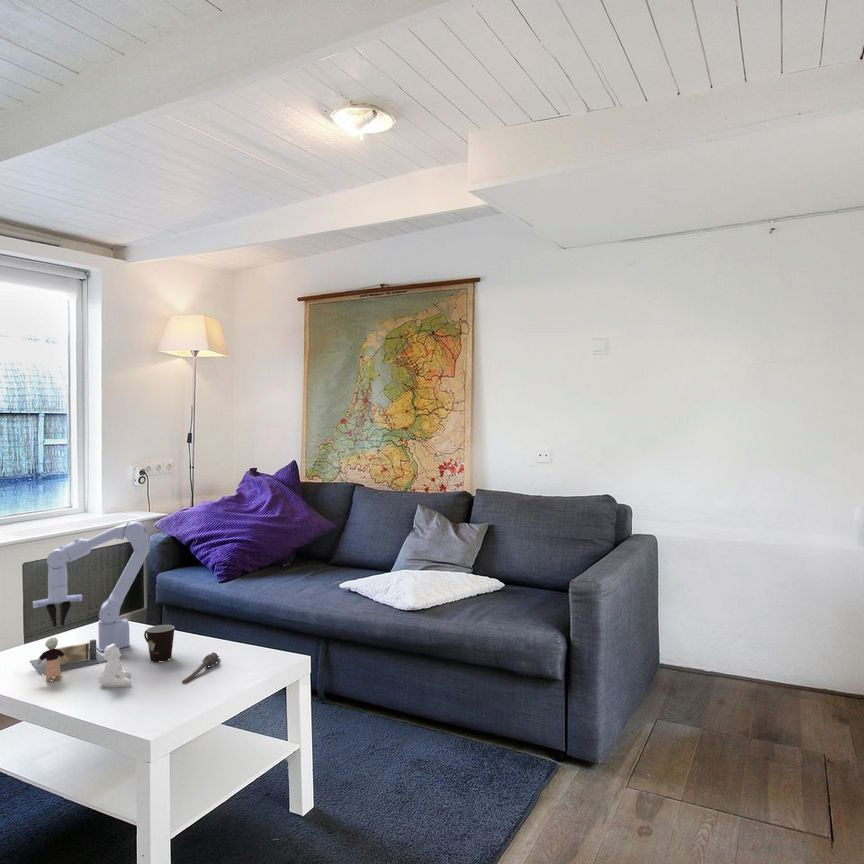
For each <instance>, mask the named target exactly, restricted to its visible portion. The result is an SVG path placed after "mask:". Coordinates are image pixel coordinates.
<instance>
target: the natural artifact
mask: <svg viewBox="0 0 864 864" xmlns="http://www.w3.org/2000/svg"><path fill="white" fill-rule="evenodd" d="M219 658H220V655H218V654H217V653H216V652H211V653H208V654H207V655H206V656H204V658H203V660H202V663H201V664H200V666H198V668H197V669H196V670H195V671H193V672H192V673H191V674H190V675H188V676H187V677H186V678H184V679H183V680H182V681H181V683H182V685H186V684H187V683H188V682H189V680H190V681H191V680H193V679H194V678H195V677H196V676H197V675H199V673H200V672H201V671H202V670H203V669H205V668H209V667H208V666H212V665H214V664H215V665H217V664H216V662H218V660H219ZM215 665H214V666H215ZM212 667H213V666H212ZM192 678H193V679H192Z"/></svg>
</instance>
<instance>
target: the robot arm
mask: <svg viewBox="0 0 864 864" xmlns="http://www.w3.org/2000/svg"><path fill="white" fill-rule="evenodd" d="M125 538H126V540H127V541H128V542H129V543H130V544H131V547H132V549H133V553H132V554H131V556H130V558H129V560H128V562H127V564H126V566H125V567H124V570H123V571H122V573H121V575H120V577H119V579H118V581H117V583H116V584H115V586H114V588H113V590H112V591H111V593H110V595H109V597H108V598H107V599H106V600H104V601H103V602H102V604H101V605H100V609H99V612H98V618H99V620H98V621H97V622H98V624H97V625H98V626H97V627H98V644H96V650H98V651H99V652H103V653H104V650H105V648H106V647H107V646H110V644H115V646H116V647H117V648H119V649H122V648H127V646H128V647H131V644H130V624H129V623H130V622H129V619H127V618H122V617H120V611H121V607H122V605H123V603H124V600H125V598H126V596H127V594H128V593H129V591H130V588H131V586H132V585H133V583H134V581H135V579H136V578H137V575H138V574H139V572H140V569H141V568H142V566H143V564H144V562H145V561H146V558H147V557H148V554H149V553H150V544H149V537H148V531H147V528H146V527H145V525H144V523H143V522H142V521H141V520H137V519H136V520H131V521H128V522H125V523H122V524H119V525H116V526H114V527H111V528H110V529H107V530H105V531H103V532H102V533H99V534H97V535H94V536H92V537H91V538H89V539H86V538H79V537H77V538H74V540H73V541H72V542H70V543H68V544H66V545H63V544H62V545H60V546H59V548H55V549H53V550H52V551H51V552H50V553H49V554H48V555H47V558H46V564H47V565H48V567H47V571H48V572H47V592H48V593H47V598H43V599H38V600H33V601H32V608H33V609H37V608H40V607H42V608H43V607H45V609H46V611H47V613H48V614H49V617H50V620H51V623H52V627H54V628H55V627H57V607H56V605H59V610H60V611H59V612H60V615H59V616H60V618H59V624H60V626H65V622H66V621H65V620H66V617H67V616H68V612H69V610H70V609H71V607H72V604H71V603H74V602H82V601H83V594H72V595H68V569H67V562H69V563H70V562H73V561H75V560H77V559H80V558H82V557H84V556H87V555H88V554H90V553H91V551H92V549H93V548H95V547H97V546H100V545H103V544H105V543H107V542H109V541H112V540H115V539H116V540H123V541H124V539H125Z"/></svg>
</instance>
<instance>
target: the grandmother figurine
mask: <svg viewBox="0 0 864 864" xmlns="http://www.w3.org/2000/svg"><path fill="white" fill-rule="evenodd" d="M58 642H59V641H58V638H57V637H55V636H54V637H52V636H51V637H49V638H48V639H47V640H46V641H45V645H44V646H45V647H46V648H47V649H48V650H46V651H45V650H44V652H42V654H41V655H39V657H38V659H39V660H38V662H37V664H38V665H40V664H41V662H42V660H44V659H46V658H47V659H46V675H45V677H46V679H45V680H47V681H50V682H52V681H51V680H53V681H54V680H55V681H59V680H58V679H60V680H61V679H62V678H63V675H62V673H61V672H62V671H61V670H60V661H59V658H58V656H60V657H62V659H63V661H66V660H67V658H66V656H65V655H64V653H63V652H62V651H61V650H59V649H58V648H56V647H57V646H58ZM47 681H46V682H47Z"/></svg>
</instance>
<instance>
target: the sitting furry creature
mask: <svg viewBox="0 0 864 864" xmlns="http://www.w3.org/2000/svg"><path fill="white" fill-rule="evenodd" d="M120 649H121V648H117V647H116V646H115V644H110V646H107V647H106V648H105V650H104V651H103V653H104V658H105V657H106V658H105V659H106V660H107V662H105V665H104V669H103V670H102V672H101V674H100V676H99V678H98V680H99V684H100V685H101V686H103V687H104V688H109V689H110V688H129V687H131V686H132V679H130V678H131V675H132V674H131V672H130V671H129V670H123V669H122V667H123V666H122V663H121V660H120V657H121V656H122V654H121V651H120Z"/></svg>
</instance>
